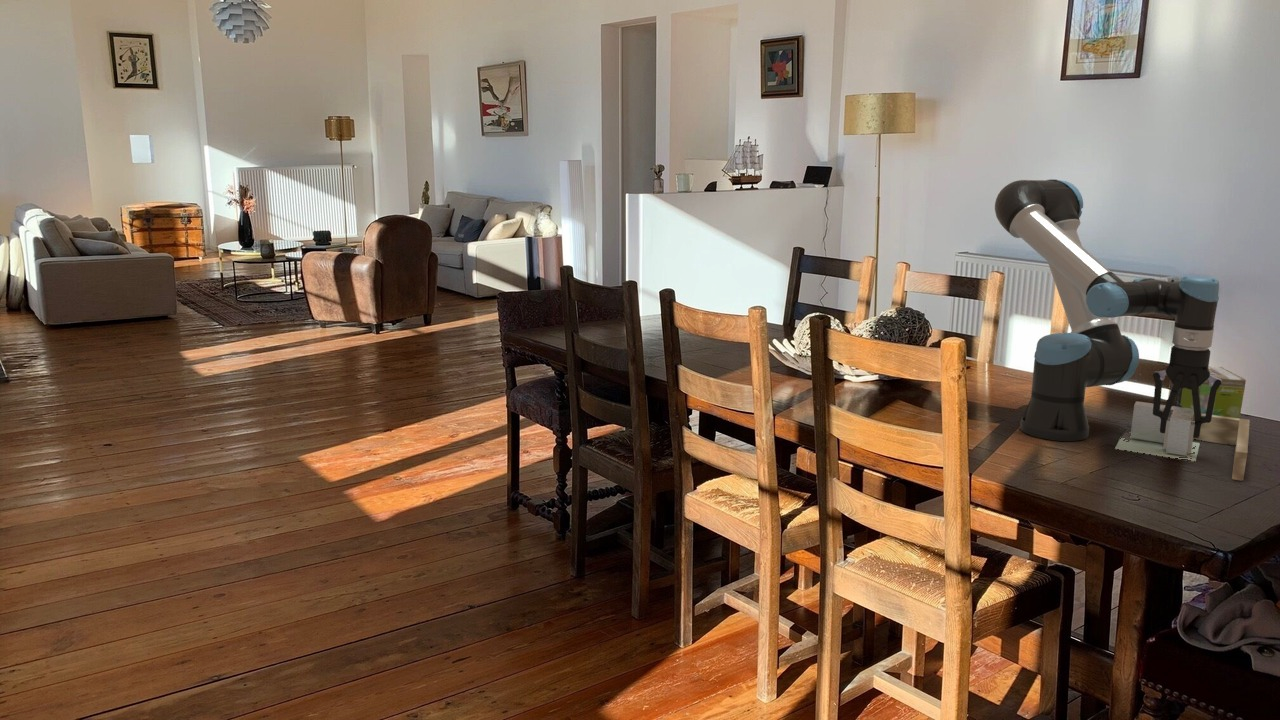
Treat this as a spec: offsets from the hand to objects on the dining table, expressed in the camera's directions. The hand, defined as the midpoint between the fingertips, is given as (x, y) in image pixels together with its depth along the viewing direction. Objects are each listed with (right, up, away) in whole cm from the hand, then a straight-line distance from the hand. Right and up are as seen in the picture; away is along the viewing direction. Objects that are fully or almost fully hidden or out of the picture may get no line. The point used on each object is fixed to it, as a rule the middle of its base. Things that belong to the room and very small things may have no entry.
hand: (1177, 448), depth 217 cm
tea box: (+17, +3, +19) cm, 25 cm away
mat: (-2, 0, +5) cm, 5 cm away
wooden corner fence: (+3, -1, 0) cm, 3 cm away
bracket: (-2, +1, +5) cm, 5 cm away
